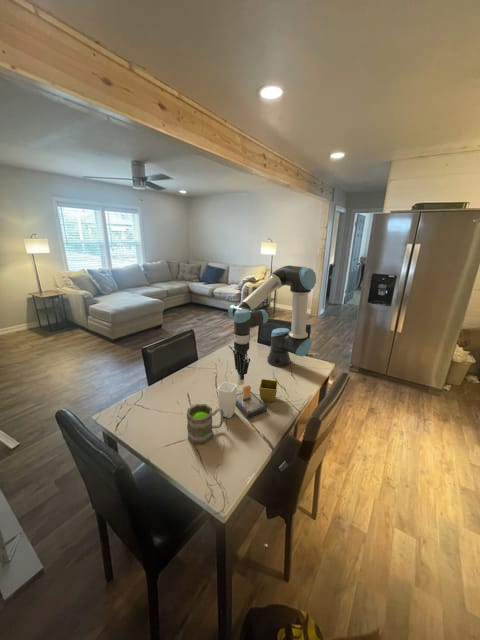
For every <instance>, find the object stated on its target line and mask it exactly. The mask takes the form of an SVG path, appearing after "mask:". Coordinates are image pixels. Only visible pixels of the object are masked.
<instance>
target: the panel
mask: <svg viewBox="0 0 480 640" xmlns="http://www.w3.org/2000/svg"><path fill="white" fill-rule="evenodd" d="M250 395H251V398H248V399H245V400H243V399H242V397H243V391H242V392H239V393H236V406H235V408H237V410H239V412H240V413H241V414H242V415H243V416H244V417H245V418H246V420H250V419H253V418H255V417H257V416H259V415H263V414H265V413H267V412H268V406H267V404H265V403H264V401H262V399H261V398H259V397H258V396H256V395H255V394H254V393H253V392H252V390H251V391H250Z"/></svg>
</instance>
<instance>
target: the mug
mask: <svg viewBox="0 0 480 640" xmlns="http://www.w3.org/2000/svg"><path fill="white" fill-rule="evenodd" d="M220 411H221V415H220V422H219V424H213V416H215V415H217V414H218V412H220ZM223 414H224V412H223V410H222V408H219V407H217V408H215V410H214V411H213V408H212V407H210V406H209V405H208V404H206V403H205V404H204V403H196V404H194V405H192V406H191V407H188V409H187V412H186V419H187V421H186V422H187V441H189V442H190V443H191V444H192V445H195V446H198V445H199V446H200V445H201V446H202V445H203V446H204V445H205V444H207V443H209V442H210V441H212V440H213V429H220V428H221V427H222V426H223V423H224V416H223Z"/></svg>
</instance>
